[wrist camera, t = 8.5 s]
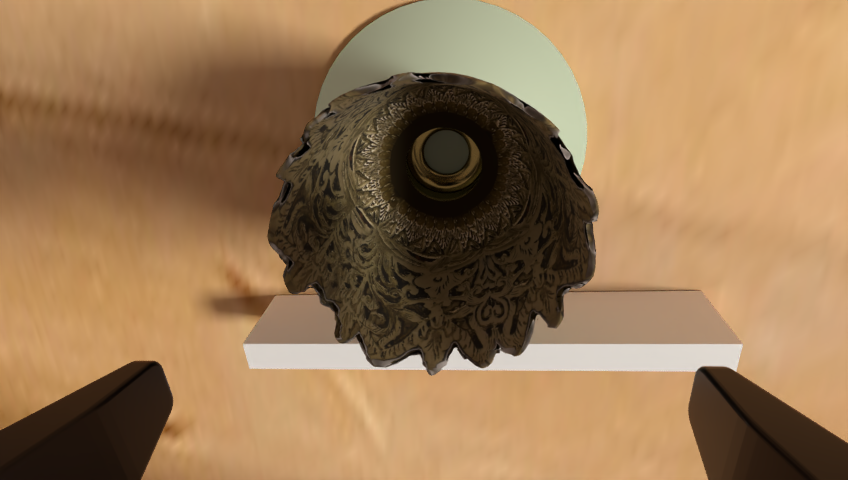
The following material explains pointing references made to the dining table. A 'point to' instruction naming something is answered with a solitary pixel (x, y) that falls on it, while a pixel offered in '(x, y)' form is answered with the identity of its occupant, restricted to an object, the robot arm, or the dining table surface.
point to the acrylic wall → (548, 348)
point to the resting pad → (464, 66)
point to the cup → (434, 220)
